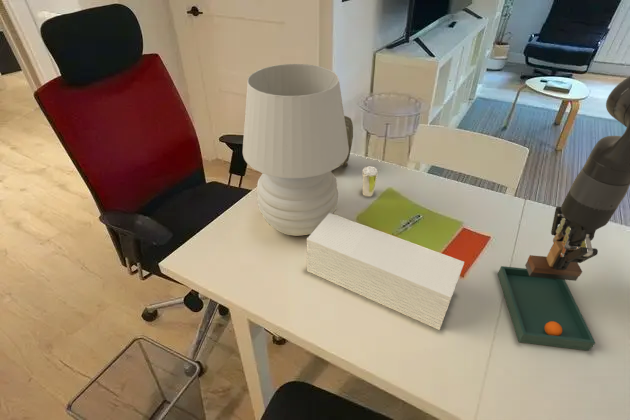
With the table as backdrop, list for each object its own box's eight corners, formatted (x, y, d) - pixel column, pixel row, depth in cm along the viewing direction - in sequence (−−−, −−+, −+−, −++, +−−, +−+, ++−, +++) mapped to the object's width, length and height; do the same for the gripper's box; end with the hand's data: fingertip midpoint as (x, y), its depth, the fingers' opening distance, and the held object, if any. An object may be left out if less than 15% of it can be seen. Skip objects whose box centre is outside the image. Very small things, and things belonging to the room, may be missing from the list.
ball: (558, 339, 75) (556, 323, 76) (566, 336, 72) (563, 320, 74) (542, 337, 75) (540, 322, 77) (550, 334, 73) (547, 319, 74)
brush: (569, 268, 79) (586, 241, 74) (576, 281, 76) (594, 254, 71) (524, 264, 80) (538, 237, 75) (529, 277, 77) (544, 249, 72)
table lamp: (362, 218, 105) (376, 76, 80) (302, 270, 90) (297, 114, 65) (295, 185, 118) (290, 53, 92) (233, 225, 102) (207, 81, 77)
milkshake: (375, 200, 111) (379, 171, 105) (358, 196, 113) (361, 168, 107) (379, 191, 115) (383, 163, 108) (362, 188, 116) (365, 160, 110)
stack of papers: (452, 294, 84) (464, 261, 77) (439, 330, 77) (451, 297, 70) (328, 244, 97) (329, 212, 90) (307, 271, 89) (306, 238, 83)
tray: (556, 280, 87) (561, 272, 86) (588, 350, 73) (595, 343, 72) (497, 273, 89) (501, 265, 87) (518, 342, 75) (523, 334, 73)
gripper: (638, 222, 60) (589, 291, 70) (600, 175, 70) (562, 241, 81) (588, 218, 60) (547, 287, 71) (557, 172, 71) (526, 238, 82)
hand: (555, 262), depth 76 cm, fingers closed on brush, 2 cm apart
